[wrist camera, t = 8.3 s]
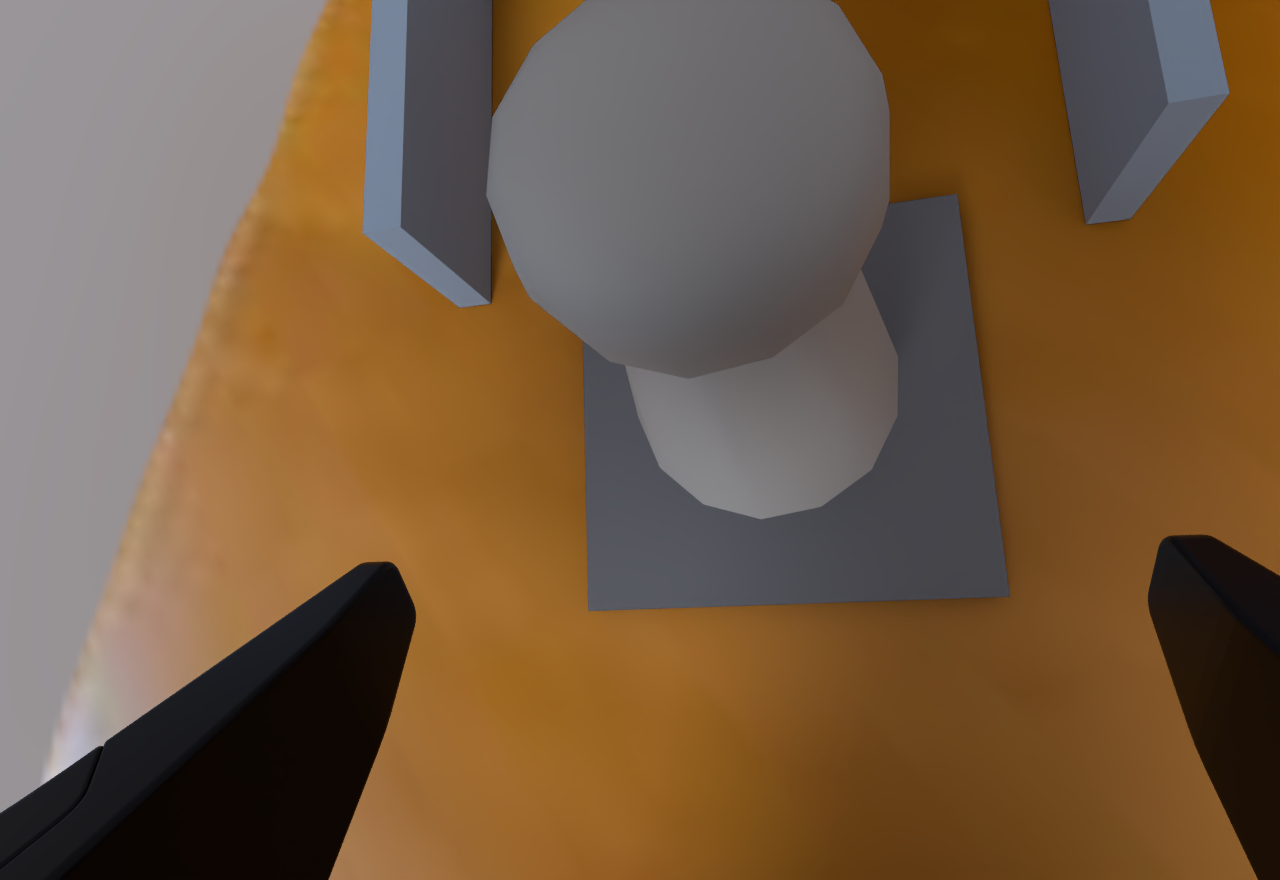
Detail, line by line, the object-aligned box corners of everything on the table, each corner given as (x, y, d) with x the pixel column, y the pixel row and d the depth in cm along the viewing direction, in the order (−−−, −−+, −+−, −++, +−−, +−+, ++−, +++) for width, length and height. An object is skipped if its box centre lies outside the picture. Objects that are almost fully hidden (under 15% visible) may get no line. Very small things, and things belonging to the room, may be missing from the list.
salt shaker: (793, 261, 20) (730, -262, 8) (942, 428, 19) (1161, 95, 6) (617, 398, 21) (296, 106, 8) (748, 574, 19) (588, 535, 7)
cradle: (1130, 218, 19) (1229, 93, 14) (459, 307, 23) (363, 233, 18) (1056, -193, 22) (1119, -416, 17) (464, -47, 26) (380, -194, 21)
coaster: (1004, 596, 18) (1009, 596, 18) (595, 610, 20) (588, 611, 20) (953, 205, 20) (957, 193, 20) (587, 257, 22) (580, 248, 22)
